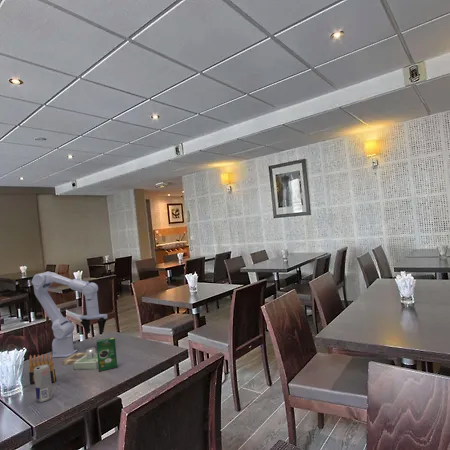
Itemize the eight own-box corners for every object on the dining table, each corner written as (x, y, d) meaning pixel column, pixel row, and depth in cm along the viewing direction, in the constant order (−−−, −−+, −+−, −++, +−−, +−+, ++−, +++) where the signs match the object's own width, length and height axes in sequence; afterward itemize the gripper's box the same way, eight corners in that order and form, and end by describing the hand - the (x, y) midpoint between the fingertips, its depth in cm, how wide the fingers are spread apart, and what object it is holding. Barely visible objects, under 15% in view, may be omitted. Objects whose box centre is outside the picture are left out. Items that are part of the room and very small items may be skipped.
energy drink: (40, 396, 128) (37, 365, 128) (55, 394, 129) (51, 363, 129) (34, 403, 123) (30, 371, 123) (49, 401, 123) (45, 369, 123)
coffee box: (117, 365, 151) (114, 336, 151) (118, 367, 148) (115, 337, 148) (98, 369, 148) (95, 340, 148) (98, 372, 146) (95, 342, 146)
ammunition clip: (56, 381, 141) (53, 352, 141) (53, 383, 139) (50, 354, 139) (32, 382, 142) (29, 354, 142) (29, 384, 140) (26, 356, 140)
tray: (74, 370, 151) (73, 363, 151) (88, 359, 162) (87, 353, 162) (96, 369, 149) (95, 362, 149) (109, 359, 160) (108, 352, 160)
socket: (62, 364, 159) (62, 361, 159) (75, 356, 169) (74, 353, 169) (81, 363, 157) (81, 360, 157) (93, 355, 167) (93, 352, 167)
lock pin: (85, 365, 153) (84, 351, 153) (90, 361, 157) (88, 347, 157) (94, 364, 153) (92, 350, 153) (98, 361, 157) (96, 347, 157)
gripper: (109, 304, 175) (112, 329, 175) (84, 305, 177) (86, 331, 177) (102, 307, 168) (105, 334, 168) (75, 309, 170) (78, 335, 170)
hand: (95, 333), depth 172 cm, fingers open, 7 cm apart
